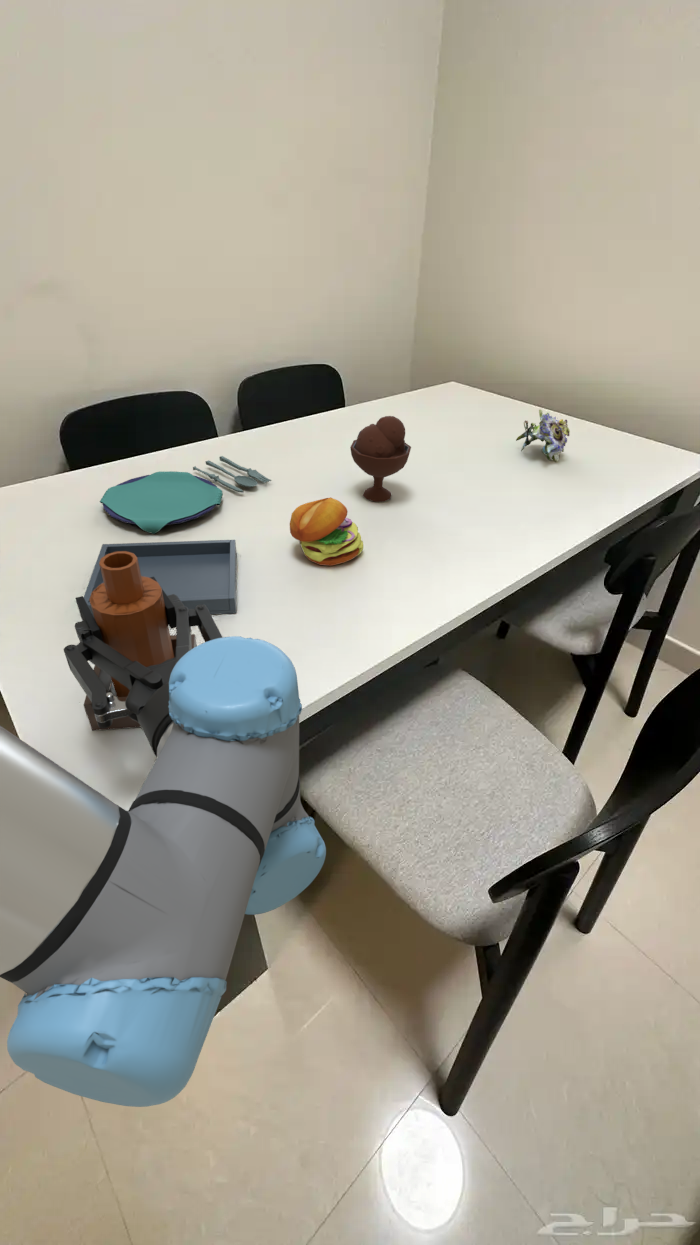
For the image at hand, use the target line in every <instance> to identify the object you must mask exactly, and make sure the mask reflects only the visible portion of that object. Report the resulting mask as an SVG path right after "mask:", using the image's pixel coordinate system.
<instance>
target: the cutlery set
mask: <svg viewBox="0 0 700 1245" xmlns="http://www.w3.org/2000/svg"><path fill="white" fill-rule="evenodd" d="M219 462H222V463H225V464H227V465H229V466H230V467H232V468H234V469H236V470H239V471H242V472H245V473H246V474H247V475H235V474H234V473H233V472H230V471H229V470H227V469H225V468H224V467H222V466H220V465H219V464H217V463H215V462H213V461H211V460H210V459H208V460H206V461H205V462H204V463H205V465H207V466H209V467H212V468H214V469H216V470H219V471H220V472H222V473H224V474H225V475H228V476H230V477H231V478H233V479H234V482H235V483H236V484H238V485H239V486H240V487H246V488H247V487H248V488H252V487H256V486H258V481H259V482H261V483H263V484H264V483H265V484H267V483H270V482H272V481H273V480H272V479H271V478H268V477H266V476H265V475H264V474H262V473H260V472H258V471H257V469H252V468H251V467H249V468H247V467H245V466H241V465H240V464H238V463H236V462H234V461H232V460H231V459H229V458H227V457H225V456H223V455H220V456H219ZM192 471H198V472H199V473H202V474H204V475H205V476H207V477H208V478H209V479H210V480H213V482H214V483H219V484H220V485H222V486H224V487H226V488H228V489H230V490H232V491H234V492H236V493H244V490H243V489H242V488H239V487H237V486H235V485H233V484H231V483H230V482H227V481H225V480H224V479H222V478H220V476H219V475H216V474H215V473H209V472H208V471H205V470H202V469H200V468H198V467H197V466H196V465H195V466H192ZM209 479H206V478H203V477H200V476H198V475H193V474H192V473H191V472H188V471H172V470H171V471H156V472H153V473H151V474H146V475H141V476H138V477H133V478H129V479H128V480H125V481H123V482H120V483H118V484H116V485H113V486H110V487H109V488H108V489H106V490H105V492H104V494H103V496H102V497H101V498H100V500H99V503H100V504H102V507H103V510H104V511H105V512H106V513H107V514H108V515H109V517H111V518H113V519H116V520H118V521H120V522H122V523H126V524H131V525H136V526H138V527H139V528H140V529H141V530H143V531H145V532H146V533H150V534H153V535H155V534H156V533H158V532H160V530H162V529H163V528H164V527H165V526H168V525H176V524H182V523H186V522H189V521H192V520H196V519H198V518H199V517H200V518H201V517H202V516H204V515H205V514H208V513H209V512H211V511H212V510H213V509H214V508H215V507H216V506H218V507H219V506H221V503H222V498H223V495H224V494H223V490H222V488H219V487H218V486H217V485H216V484H214V483H213V482H212V481H210V480H209Z"/></svg>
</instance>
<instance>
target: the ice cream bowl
mask: <svg viewBox="0 0 700 1245" xmlns="http://www.w3.org/2000/svg"><path fill="white" fill-rule="evenodd" d="M405 437H406V427H405V424H404V423H403V421H402V420H401V419H400V418H398V417H396V416H394V415H385V416H382V417H380V418H378V420H377V421H376V423H370V424H369V425H367V426H365V427H364V428H362V429H361V430H360V431H359V432H358V434H357V436H356V439H354V440H353V442H352V443H351V445H350V448H349V449H350V455H351V457H352V460H353V462H354V463H355V464H356V465H357V466H358V468H360V469H361V471H363V472H364V473H365V474H367V475H368V476H370V477H372V478H373V485H371V486H370V487H367V488H365V489H364V491H363V494H362V497H363V498H364V499H366V500H367V501H371V502H374V503H377V502H378V503H385V502H387V501H390V500H391V498H392V491H390V490H389V489H387V488H386V487H384V485H383V483H384V479H385V478H387V477H390V476H393V475H394V474H397V473H399V472H400V471H401V470H402V469H403V468H404V467H405V466H406V465H407V462H408V459H409V456H410V453H411V450H412V446H411V445H409V444H408V443H407V442H406V440H405Z"/></svg>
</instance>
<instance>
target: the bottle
mask: <svg viewBox="0 0 700 1245" xmlns="http://www.w3.org/2000/svg"><path fill="white" fill-rule="evenodd" d="M99 565H100V569H101V573H102V577H103V581H104V583H102V584H100V585H99V586H98V587H97V588H96V589H95V590H94V591H93V592H92V594H91V596H90V599H89V601H90V604H91V608H92V611H93V615H94V619H95V621H96V623H97V625H98V627H99V629H100V632H101V636H102V639H103V642H104V643H105V644H107V645H108V646H110V647H111V648H113V649H114V650H116V651H117V652H119V653H120V654H122V655H123V656H125V657H126V658H128V659H129V660H131V661H132V662H134V661H137V662H139V663H140V664H142V665H143V666H145V667H148V666H151V665H157V664H161V663H163V662H165V661H166V660H169V659H171V658H174V653H173V648H172V643H171V637H170V635H171V631H170V626H169V625H168V621H167V615H166V610H165V604H164V599H163V593H162V589H161V587H160V585H159V584H158V582H156V581H154V580H153V579H151V578H149V577H143V576H141V573H140V568H139V563H138V559H137V557H136V555H135V554H134V553H131V552H127V551H117V552H113V553H109V554H107V555H105V556H104V557H102V558H101V560H100V562H99ZM111 679H112V682H111V684H112V686H113V689H114V691H115V696H116V697H127V696H128V694H129V692H130V691H129V689H128V688H127V687H126V686H124V685H123V684H121V683H120V682H118V681H117V680H116V679H114V678H113V677H111Z"/></svg>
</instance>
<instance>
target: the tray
mask: <svg viewBox="0 0 700 1245" xmlns="http://www.w3.org/2000/svg"><path fill="white" fill-rule="evenodd" d="M117 551H127V552H131V553H134V554H135V555H136V557H137V559H138V563H139V568H140V573H141V576H143V577H149V578H150V577H154V578H155V579H156V580H157V582H158V583H159V585H160V586H161V588H162V589H163V591H164V592H165V594H166V595H167V596H168V595H171V594H175V595H177V596H178V598H179V599H180V601H181V602H182V603H183V605H184V606H185V607H187V608H188V609H195V607H196V606H197V605H199V604H204V605H206V606H207V608H208V610H209V612H210V614H211V616H212V615H213V616H214V615H229V614H231V615H232V614H237V557H238V556H237V554H238V553H237V544H236V539H215V540H214V539H212V540H211V539H209V540H184V541H183V540H181V541H154V542H152V541H151V542H127V543H125V542H122V543H102V544H101V548H100V550H99V553H98V556H97V559H96V562H95V565H94V567H93V570H92V573H91V575H90V578H89V581H88V584H87V587H86V590H85V592H84V595H83V597H84V599H85V601H86V603H87V605H88V607H89V609H90V611H91V613H92V615H93V611H92V608H91V604H90V601H89V599H90V596H91V594H92V592H93V591H94V590H95V589H96V588H97V587H98V586H99V585H100V584H102V583H104V581H103V577H102V573H101V569H100V565H99V562H100V560H101V558H102V557H104V556H105V555H107V554H109V553H113V552H117ZM93 617H94V615H93Z"/></svg>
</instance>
